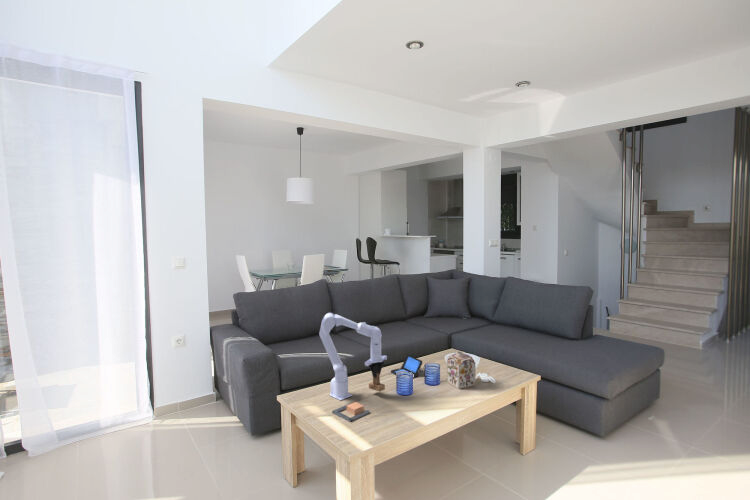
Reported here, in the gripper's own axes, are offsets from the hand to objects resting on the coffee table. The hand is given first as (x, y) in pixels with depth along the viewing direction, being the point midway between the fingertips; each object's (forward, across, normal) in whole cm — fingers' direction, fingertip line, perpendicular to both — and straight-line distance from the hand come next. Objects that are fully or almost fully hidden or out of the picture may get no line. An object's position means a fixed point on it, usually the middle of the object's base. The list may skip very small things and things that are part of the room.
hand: (376, 376), depth 218 cm
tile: (+10, -20, -6) cm, 24 cm away
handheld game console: (+11, +34, +8) cm, 36 cm away
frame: (+10, -23, -6) cm, 26 cm away
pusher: (+7, 0, 0) cm, 7 cm away
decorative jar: (+10, +43, -24) cm, 50 cm away
